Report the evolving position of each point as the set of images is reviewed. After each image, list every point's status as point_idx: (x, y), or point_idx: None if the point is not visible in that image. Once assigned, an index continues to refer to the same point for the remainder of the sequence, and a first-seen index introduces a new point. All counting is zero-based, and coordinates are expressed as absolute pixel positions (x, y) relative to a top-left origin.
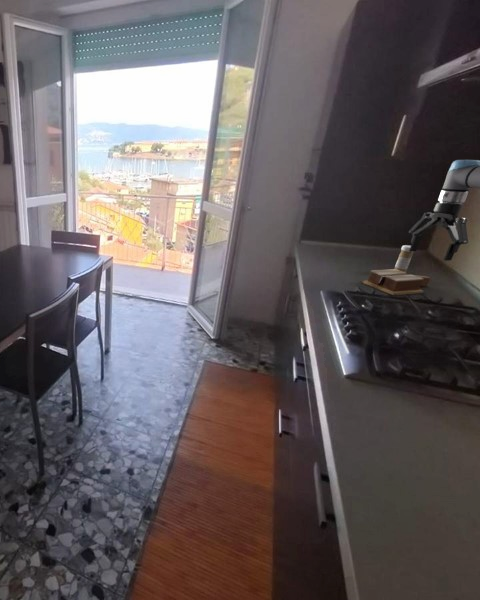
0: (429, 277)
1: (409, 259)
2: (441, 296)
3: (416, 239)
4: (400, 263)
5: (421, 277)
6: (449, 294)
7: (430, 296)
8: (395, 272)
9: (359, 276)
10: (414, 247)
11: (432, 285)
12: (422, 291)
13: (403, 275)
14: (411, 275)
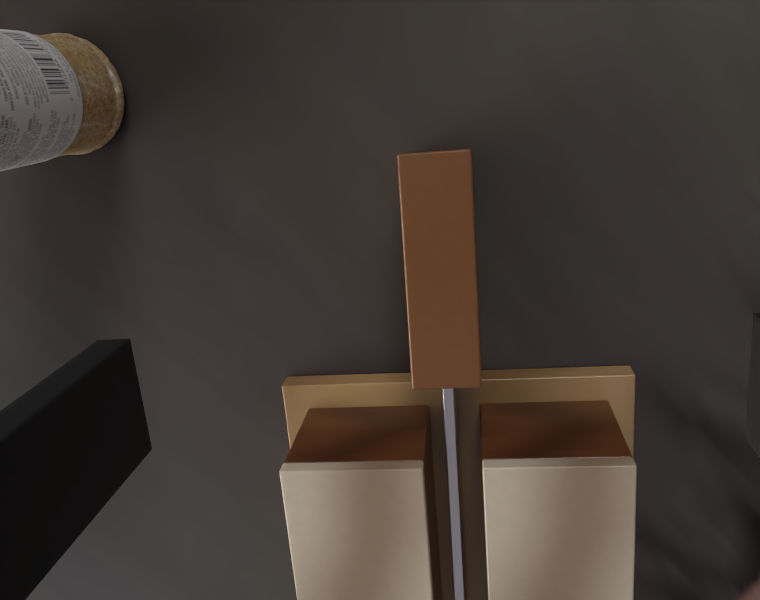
0: (462, 161)
1: (2, 98)
2: (743, 263)
3: (9, 573)
4: (16, 165)
5: (477, 296)
6: (716, 118)
7: (718, 371)
8: (399, 573)
9: (155, 541)
10: (108, 441)
11: (442, 33)
12: (634, 383)
13: (507, 583)
14: (519, 503)
